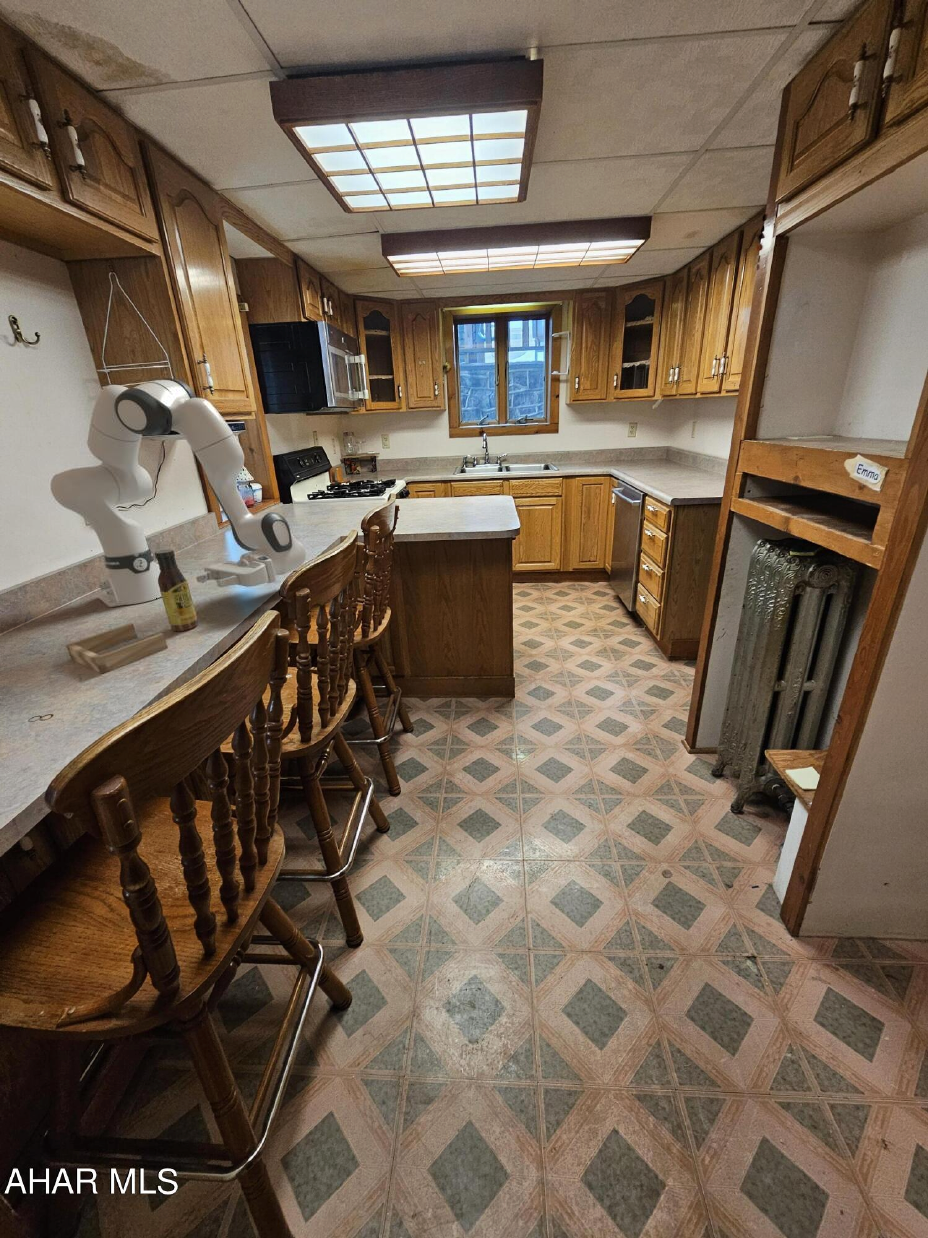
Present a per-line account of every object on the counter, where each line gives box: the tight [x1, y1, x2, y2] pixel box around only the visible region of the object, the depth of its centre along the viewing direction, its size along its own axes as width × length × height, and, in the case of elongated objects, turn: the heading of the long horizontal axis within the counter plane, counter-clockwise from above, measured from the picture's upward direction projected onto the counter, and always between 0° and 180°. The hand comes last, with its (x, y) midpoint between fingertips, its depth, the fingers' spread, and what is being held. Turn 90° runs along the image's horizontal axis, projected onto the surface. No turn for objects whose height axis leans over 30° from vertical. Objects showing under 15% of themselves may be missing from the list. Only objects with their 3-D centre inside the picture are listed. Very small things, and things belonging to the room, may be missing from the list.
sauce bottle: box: [154, 548, 199, 632], centre depth 120 cm, size 7×6×20 cm
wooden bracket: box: [65, 622, 169, 675], centre depth 110 cm, size 16×14×4 cm
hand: (208, 582), depth 125 cm, fingers open, 8 cm apart
